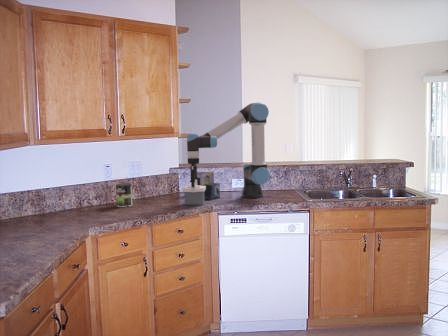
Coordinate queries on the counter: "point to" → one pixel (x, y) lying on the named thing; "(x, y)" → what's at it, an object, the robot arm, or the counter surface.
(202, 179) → the cake pan box
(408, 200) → the counter surface
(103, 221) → the counter surface
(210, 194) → the small box
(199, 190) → the lid
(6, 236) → the counter surface
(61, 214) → the counter surface
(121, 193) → the multicoloured piece
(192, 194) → the tub
